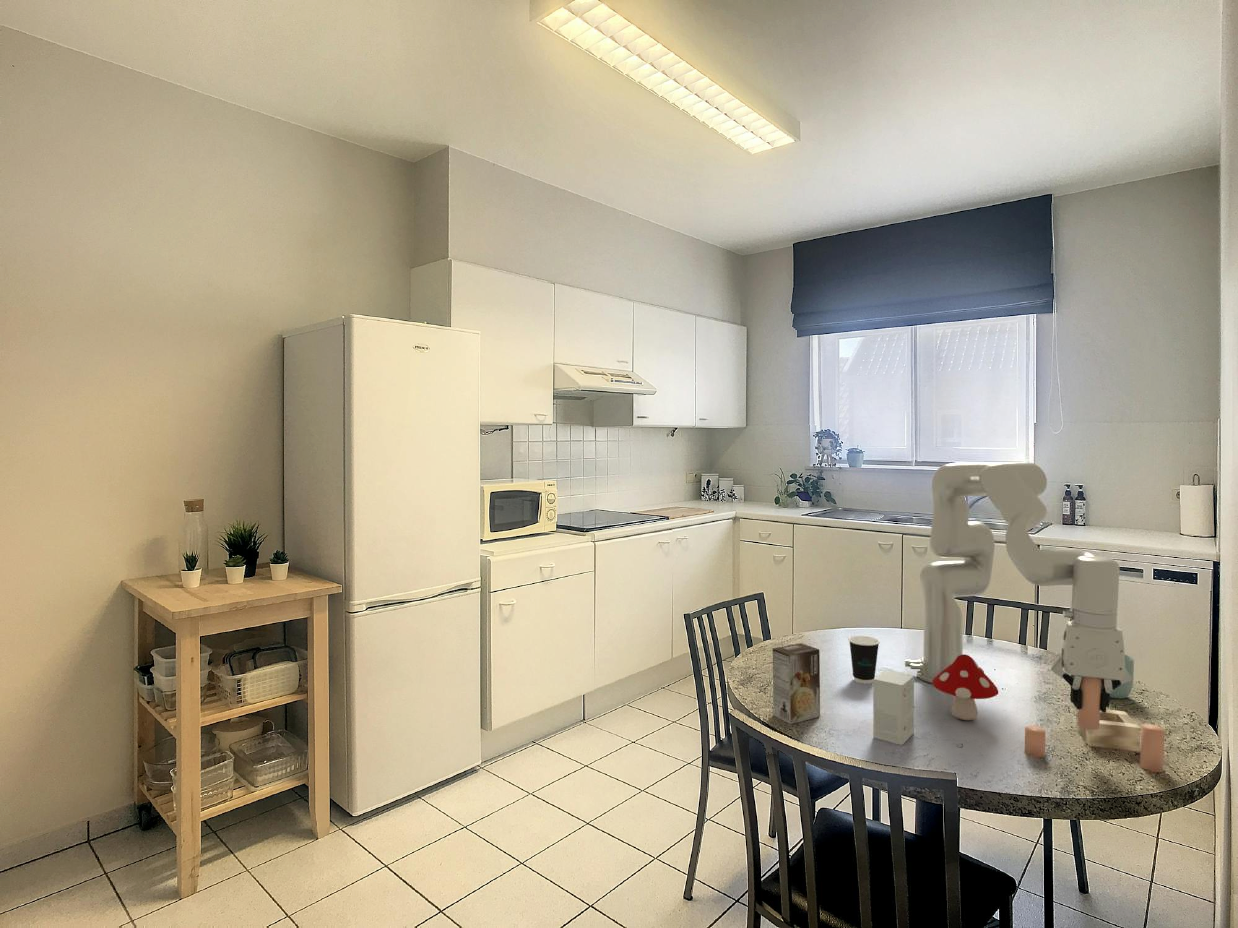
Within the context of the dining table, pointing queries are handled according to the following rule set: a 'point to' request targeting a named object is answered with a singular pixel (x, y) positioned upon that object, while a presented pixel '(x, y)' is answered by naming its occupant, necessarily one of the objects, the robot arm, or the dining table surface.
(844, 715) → the dining table surface
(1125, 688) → the cup
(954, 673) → the decorative mushroom
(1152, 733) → the medium pin
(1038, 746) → the short pin
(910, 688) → the small box
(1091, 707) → the long pin
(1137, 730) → the bore block
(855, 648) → the dixie cup
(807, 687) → the coffee box
